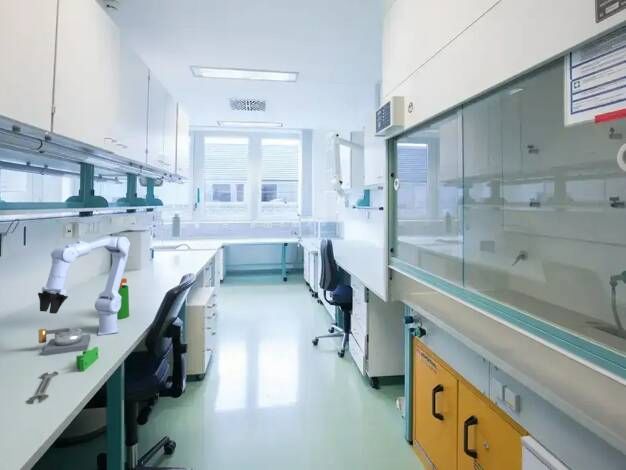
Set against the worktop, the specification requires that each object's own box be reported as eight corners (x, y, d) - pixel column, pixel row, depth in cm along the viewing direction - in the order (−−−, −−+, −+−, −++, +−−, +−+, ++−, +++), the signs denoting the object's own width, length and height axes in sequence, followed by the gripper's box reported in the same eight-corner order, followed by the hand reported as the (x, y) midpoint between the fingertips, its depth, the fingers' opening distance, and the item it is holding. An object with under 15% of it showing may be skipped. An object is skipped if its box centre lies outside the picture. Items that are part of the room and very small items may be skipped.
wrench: (47, 402, 104) (59, 373, 122) (46, 396, 104) (59, 369, 122) (26, 407, 102) (42, 377, 120) (26, 402, 102) (41, 373, 120)
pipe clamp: (87, 359, 134) (87, 347, 133) (98, 358, 134) (98, 346, 134) (72, 372, 123) (71, 359, 122) (83, 371, 123) (83, 359, 123)
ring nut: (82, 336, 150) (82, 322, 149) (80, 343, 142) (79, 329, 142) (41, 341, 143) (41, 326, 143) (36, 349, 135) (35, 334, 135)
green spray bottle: (110, 314, 187) (109, 277, 185) (129, 312, 191) (128, 276, 189) (109, 320, 178) (108, 281, 176) (129, 318, 182) (128, 280, 181)
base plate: (50, 343, 147) (50, 339, 146) (90, 338, 153) (90, 334, 153) (44, 355, 135) (43, 350, 135) (87, 349, 142) (87, 344, 141)
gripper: (37, 274, 138) (27, 309, 135) (55, 276, 131) (45, 313, 128) (56, 277, 144) (47, 311, 141) (75, 279, 137) (66, 314, 134)
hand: (48, 312), depth 135 cm, fingers open, 7 cm apart
